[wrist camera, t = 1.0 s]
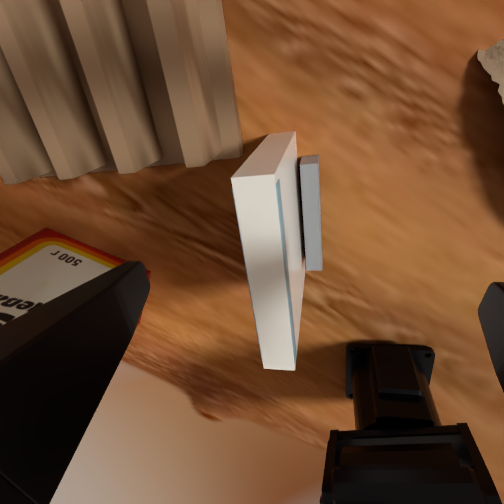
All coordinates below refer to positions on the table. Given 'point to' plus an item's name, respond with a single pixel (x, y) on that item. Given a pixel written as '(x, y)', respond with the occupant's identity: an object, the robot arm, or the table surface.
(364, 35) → the table surface
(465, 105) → the table surface
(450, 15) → the table surface
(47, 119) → the rack
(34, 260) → the baking soda box
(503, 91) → the clay tablet
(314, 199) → the stand
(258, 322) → the white slim box
